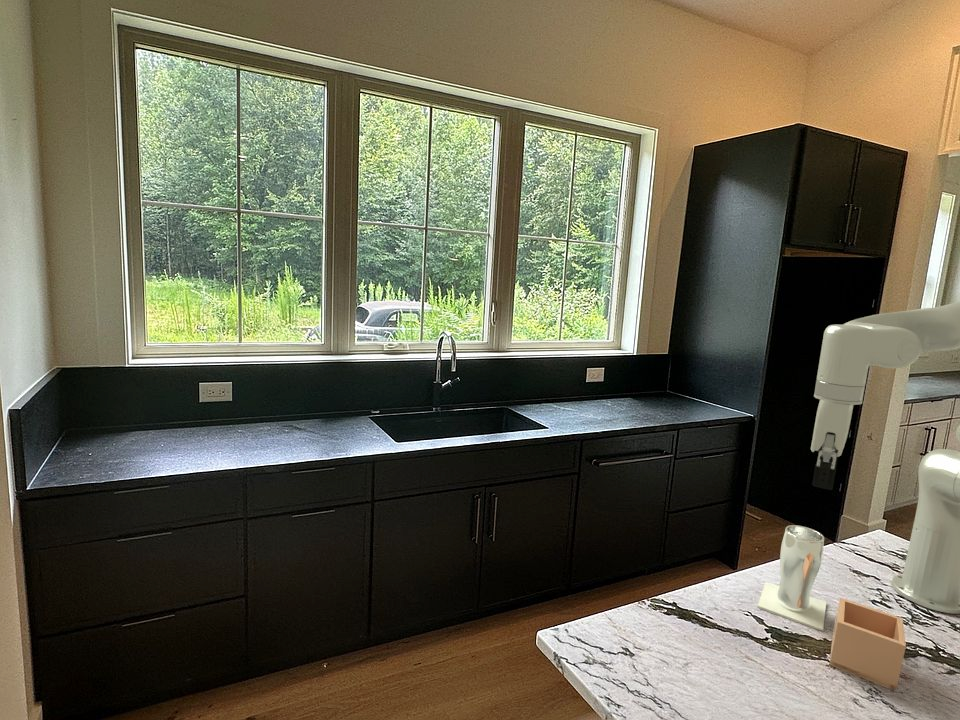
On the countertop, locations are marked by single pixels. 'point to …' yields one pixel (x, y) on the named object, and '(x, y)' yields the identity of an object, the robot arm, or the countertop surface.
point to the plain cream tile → (809, 618)
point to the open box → (868, 643)
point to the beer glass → (799, 567)
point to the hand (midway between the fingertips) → (824, 480)
